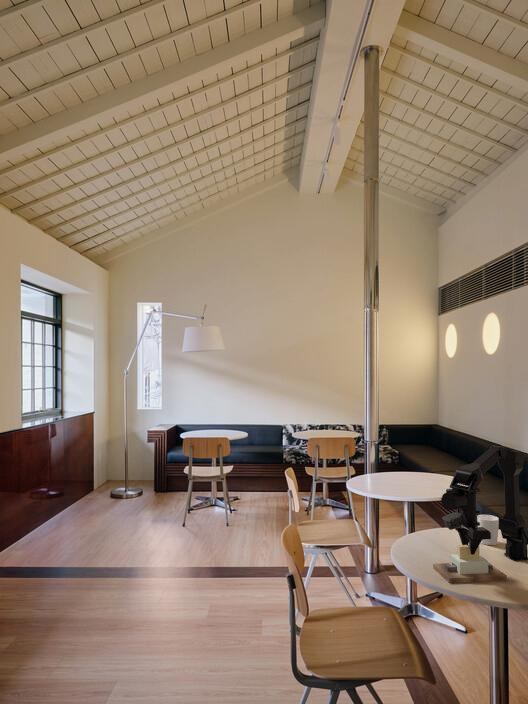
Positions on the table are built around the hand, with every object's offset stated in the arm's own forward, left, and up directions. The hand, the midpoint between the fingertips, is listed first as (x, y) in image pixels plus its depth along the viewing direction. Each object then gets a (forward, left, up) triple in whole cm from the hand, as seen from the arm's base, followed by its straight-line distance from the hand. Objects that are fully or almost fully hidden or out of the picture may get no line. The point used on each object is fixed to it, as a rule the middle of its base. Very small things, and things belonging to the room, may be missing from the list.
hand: (468, 551), depth 169 cm
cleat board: (0, 0, -8) cm, 8 cm away
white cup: (-23, -28, -8) cm, 37 cm away
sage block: (0, 0, -6) cm, 6 cm away
